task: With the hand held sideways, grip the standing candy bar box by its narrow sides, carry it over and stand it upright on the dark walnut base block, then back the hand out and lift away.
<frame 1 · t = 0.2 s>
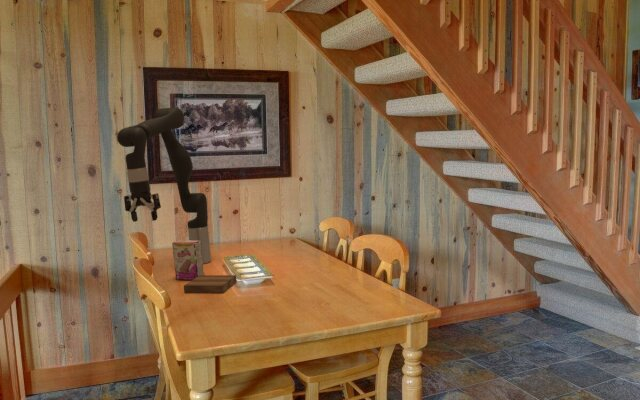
hand: (144, 220, 208), 28 cm above the table, tool pointing down, fingers open, 8 cm apart
candy bar box: (190, 279, 226), on the table
walnut base: (211, 287, 211), on the table
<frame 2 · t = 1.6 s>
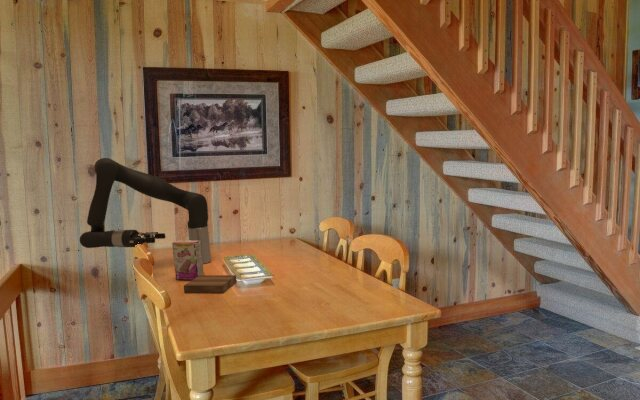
hand: (159, 238, 226), 18 cm above the table, tool horizontal, fingers open, 8 cm apart
nothing on the table moved.
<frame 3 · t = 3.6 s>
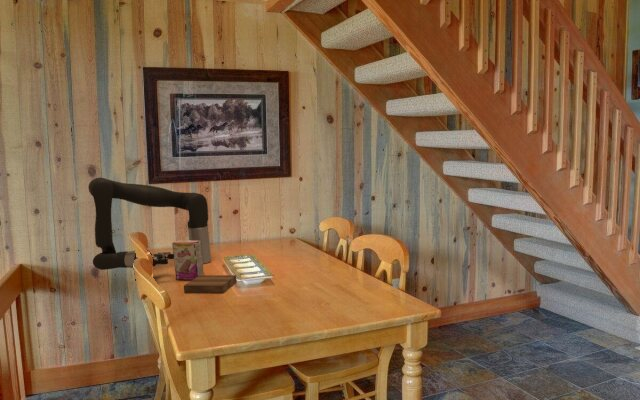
hand: (172, 258, 227), 9 cm above the table, tool horizontal, fingers open, 8 cm apart
nothing on the table moved.
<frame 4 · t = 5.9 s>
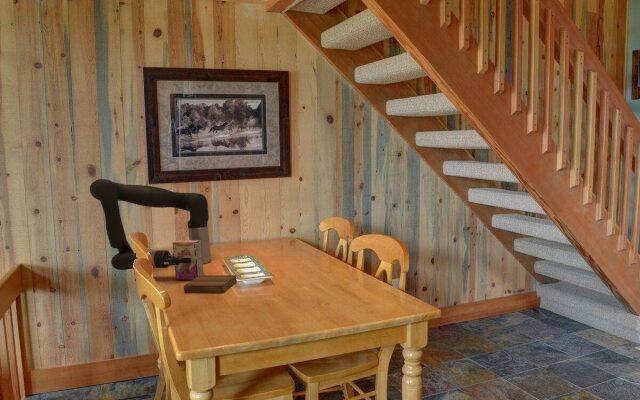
hand: (193, 258, 224), 9 cm above the table, tool horizontal, fingers closed on candy bar box, 5 cm apart
candy bar box: (190, 279, 226), on the table, touching gripper
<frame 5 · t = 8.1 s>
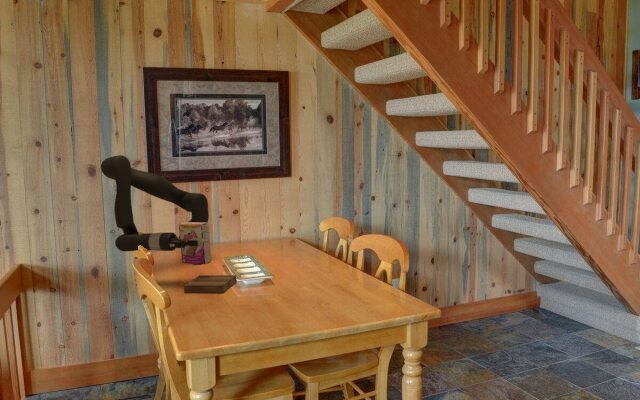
hand: (200, 241, 214), 18 cm above the table, tool horizontal, fingers closed on candy bar box, 5 cm apart
candy bar box: (196, 263, 216), point 9 cm above the table, touching gripper
when the fingers open (13 cm above the table, at t = 10.2 s): candy bar box drops 1 cm, resting on walnut base.
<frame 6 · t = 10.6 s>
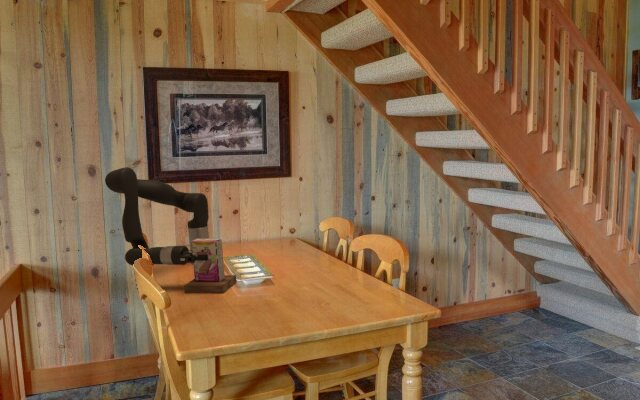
hand: (212, 254, 209), 13 cm above the table, tool horizontal, fingers open, 8 cm apart
candy bar box: (210, 280, 211), point 3 cm above the table, touching walnut base
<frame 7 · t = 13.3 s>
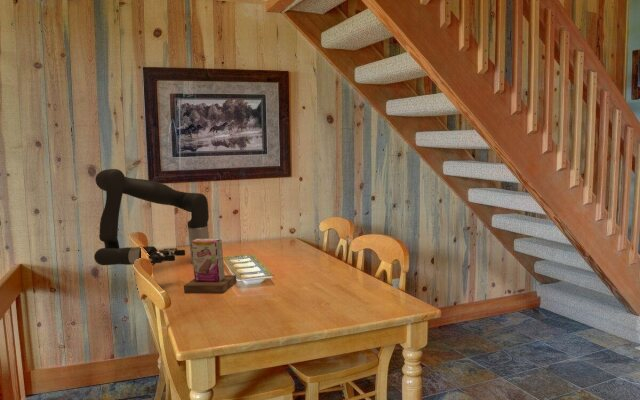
hand: (179, 255, 212), 13 cm above the table, tool horizontal, fingers open, 8 cm apart
nothing on the table moved.
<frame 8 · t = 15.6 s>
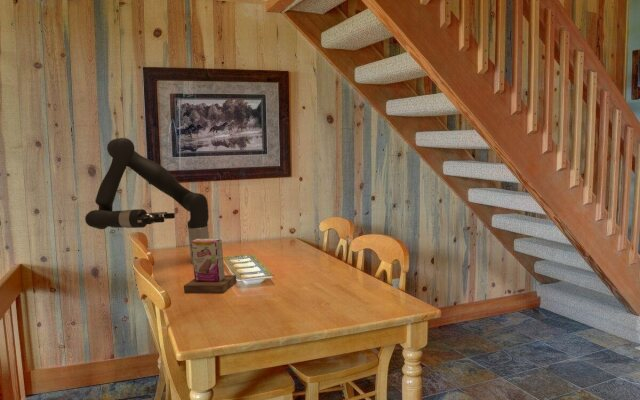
hand: (169, 217, 215), 28 cm above the table, tool horizontal, fingers open, 8 cm apart
nothing on the table moved.
at the end: candy bar box inside the target area on the walnut base (0.1 cm from its centre), point 2.8 cm above the walnut base's base; candy bar box tilted 0°; the gripper is holding nothing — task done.
